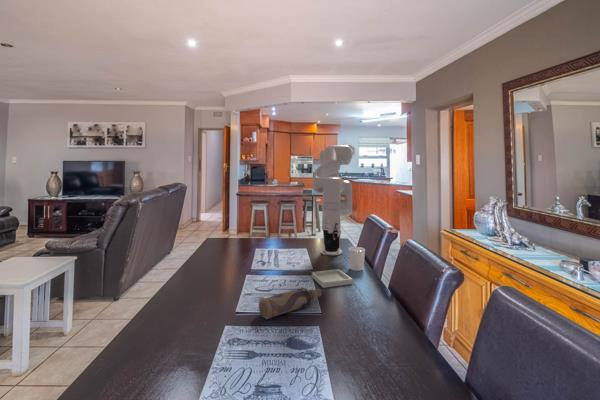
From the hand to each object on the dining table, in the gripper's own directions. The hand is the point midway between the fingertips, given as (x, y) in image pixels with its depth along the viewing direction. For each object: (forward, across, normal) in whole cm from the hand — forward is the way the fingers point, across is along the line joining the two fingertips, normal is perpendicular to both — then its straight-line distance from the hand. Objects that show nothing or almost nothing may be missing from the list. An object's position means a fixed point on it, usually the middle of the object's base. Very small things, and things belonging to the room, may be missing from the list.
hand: (331, 245), depth 128 cm
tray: (+15, 0, 0) cm, 15 cm away
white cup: (+16, -10, +18) cm, 26 cm away
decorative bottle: (+16, +21, -24) cm, 35 cm away
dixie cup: (+3, 0, 0) cm, 3 cm away
